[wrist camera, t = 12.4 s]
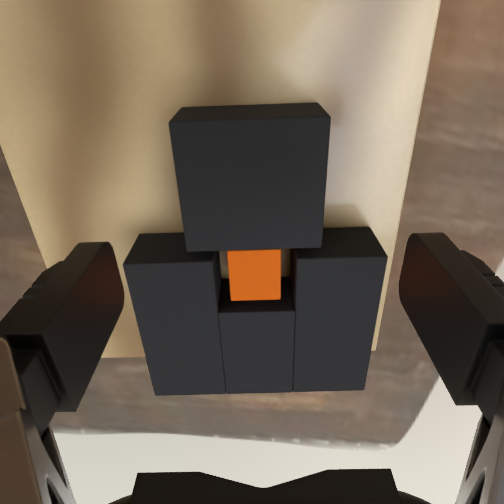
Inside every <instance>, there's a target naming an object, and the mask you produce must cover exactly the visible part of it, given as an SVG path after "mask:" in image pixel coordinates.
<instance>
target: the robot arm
mask: <svg viewBox="0 0 504 504" xmlns="http://www.w3.org/2000/svg"><path fill="white" fill-rule="evenodd" d="M399 296H400V300H401V303H402V305H403V307H404V309H405V311H406V313H407V315H408V317H409V319H410V320H411V322H412V324H413V326H414V328H415V330H416V332H417V334H418V335H419V337H420V339H421V341H422V343H423V345H424V347H425V349H426V350H427V352H428V354H429V356H430V358H431V360H432V362H433V363H434V365H435V367H436V369H437V371H438V373H439V375H440V377H441V378H442V380H443V382H444V384H445V386H446V388H447V390H448V392H449V393H450V395H451V397H452V399H453V401H454V403H455V404H456V405H478V407H479V408H480V410H481V412H482V413H483V414H482V416H481V418H480V420H479V422H478V425H477V429H476V433H475V436H474V440H473V444H472V447H471V451H470V454H469V458H468V462H467V465H466V469H465V473H464V476H463V480H462V484H461V487H460V490H459V494H458V497H457V500H456V503H455V504H504V282H503V281H502V280H501V279H500V278H499V277H498V276H495V273H494V272H493V271H492V270H491V269H490V268H489V267H488V266H487V265H486V264H485V263H484V262H483V261H482V260H480V259H478V258H477V257H475V256H473V255H471V254H470V253H468V252H466V251H464V250H459V249H458V248H457V247H456V246H455V244H454V243H453V242H452V241H451V240H450V239H449V238H448V237H447V236H446V235H445V234H444V233H413V234H411V235H410V237H409V239H408V242H407V246H406V251H405V256H404V261H403V265H402V270H401V275H400V280H399ZM123 306H124V287H123V284H122V280H121V276H120V272H119V268H118V264H117V261H116V257H115V253H114V249H113V247H112V245H111V244H110V243H109V242H80V243H78V244H77V245H76V246H75V247H74V248H73V250H72V251H71V252H70V253H69V255H68V256H67V257H66V258H65V260H64V261H59V262H57V263H56V264H54V265H53V266H51V267H50V268H48V269H47V270H45V271H44V272H42V274H41V275H40V276H39V277H38V278H37V279H36V281H35V282H34V283H33V284H32V288H29V289H28V290H27V291H26V292H25V293H24V295H23V298H22V299H19V300H18V302H17V303H16V304H15V305H14V306H13V307H12V309H11V310H10V311H9V312H8V313H7V314H6V316H5V317H4V318H3V319H2V320H1V321H0V504H76V502H75V499H74V496H73V493H72V490H71V487H70V484H69V481H68V478H67V474H66V471H65V468H64V465H63V462H62V459H61V456H60V453H59V450H58V446H57V443H56V440H55V437H54V434H53V431H52V429H51V427H50V425H49V423H50V421H51V419H52V417H53V415H54V413H55V412H76V410H77V408H78V406H79V404H80V402H81V399H82V397H83V395H84V393H85V391H86V389H87V386H88V384H89V382H90V380H91V378H92V375H93V373H94V371H95V369H96V367H97V365H98V362H99V360H100V358H101V356H102V354H103V352H104V349H105V347H106V345H107V343H108V341H109V338H110V336H111V334H112V332H113V330H114V328H115V325H116V323H117V321H118V319H119V317H120V315H121V312H122V310H123ZM109 504H431V503H429V502H427V501H424V500H423V499H420V498H418V497H415V496H413V495H410V494H407V493H405V492H401V491H397V488H396V485H395V482H394V478H393V475H392V472H391V469H339V470H325V471H322V472H318V473H315V474H312V475H308V476H305V477H302V478H299V479H295V480H292V481H289V482H286V483H282V484H279V485H275V486H272V487H268V488H259V487H254V486H251V485H247V484H243V483H239V482H235V481H232V480H228V479H224V478H220V477H216V476H213V475H209V474H205V473H202V472H162V473H161V472H158V473H137V477H136V481H135V485H134V489H133V493H132V495H129V496H126V497H123V498H121V499H119V500H116V501H114V502H112V503H109Z"/></svg>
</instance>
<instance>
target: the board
mask: <svg viewBox="0 0 504 504" xmlns="http://www.w3.org/2000/svg"><path fill="white" fill-rule="evenodd" d="M440 4H441V0H0V145H1V148H2V151H3V153H4V156H5V159H6V161H7V164H8V167H9V169H10V172H11V175H12V177H13V180H14V183H15V185H16V188H17V191H18V193H19V196H20V199H21V201H22V204H23V207H24V209H25V212H26V214H27V217H28V220H29V222H30V225H31V228H32V230H33V233H34V236H35V238H36V241H37V244H38V246H39V249H40V252H41V254H42V257H43V260H44V262H45V265H46V268H47V269H48V268H50V267H51V266H53V265H54V264H56V263H57V262H59V261H64V260H65V258H66V257H67V256H68V255H69V253H70V252H71V251H72V250H73V248H74V247H75V246H76V245H77V244H78V243H80V242H109V243H110V244H111V245H112V247H113V249H114V253H115V257H116V261H117V264H118V268H119V272H120V276H121V280H122V284H123V287H124V306H123V310H122V312H121V315H120V317H119V319H118V321H117V323H116V325H115V328H114V330H113V332H112V334H111V336H110V338H109V341H108V343H107V345H106V347H105V349H104V352H103V354H102V356H101V358H116V357H145V353H144V349H143V345H142V341H141V337H140V333H139V329H138V325H137V321H136V317H135V313H134V309H133V305H132V301H131V297H130V293H129V289H128V285H127V281H126V277H125V273H124V269H123V263H124V261H125V259H126V257H127V255H128V253H129V252H130V250H131V248H132V246H133V244H134V242H135V240H136V239H137V237H138V235H139V234H146V233H178V232H184V230H183V223H182V216H181V209H180V202H179V195H178V188H177V181H176V174H175V166H174V159H173V152H172V145H171V138H170V131H169V124H168V123H169V121H170V120H171V119H172V118H173V116H174V115H175V114H176V113H177V112H178V111H179V110H180V108H182V107H199V106H227V105H255V104H283V103H311V102H317V103H319V104H320V105H321V106H322V107H323V108H324V110H325V111H326V112H327V113H328V114H329V115H330V116H331V125H330V139H329V153H328V167H327V181H326V194H325V208H324V222H323V228H343V227H371V229H372V231H373V232H374V234H375V236H376V237H377V239H378V241H379V242H380V244H381V246H382V247H383V249H384V251H385V252H386V254H387V256H388V260H387V265H386V271H385V276H384V282H383V287H382V293H381V299H380V304H379V310H378V315H377V321H376V326H375V332H374V337H373V343H372V349H371V351H375V350H376V344H377V339H378V334H379V328H380V323H381V318H382V312H383V307H384V302H385V297H386V291H387V286H388V281H389V275H390V270H391V265H392V259H393V254H394V249H395V243H396V238H397V233H398V227H399V222H400V217H401V211H402V206H403V201H404V195H405V190H406V185H407V179H408V174H409V169H410V163H411V158H412V153H413V148H414V142H415V137H416V132H417V126H418V121H419V116H420V110H421V105H422V100H423V94H424V89H425V84H426V78H427V73H428V68H429V62H430V57H431V52H432V46H433V41H434V36H435V30H436V25H437V20H438V14H439V9H440ZM290 253H291V249H281V277H290ZM219 255H220V266H221V277H222V279H229V270H228V258H227V250H226V251H219Z"/></svg>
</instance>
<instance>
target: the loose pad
mask: <svg viewBox="0 0 504 504" xmlns="http://www.w3.org/2000/svg"><path fill="white" fill-rule="evenodd" d="M168 124H169V131H170V138H171V145H172V152H173V159H174V166H175V174H176V181H177V188H178V195H179V202H180V209H181V216H182V223H183V230H184V237H185V244H186V250H187V251H188V252H193V251H226V250H227V258H228V270H229V283H230V296H231V301H241V300H276V299H280V298H281V249H292V248H320V247H321V246H322V236H323V222H324V208H325V194H326V181H327V167H328V153H329V139H330V125H331V116H330V115H329V114H328V113H327V112H326V111H325V110H324V108H323V107H322V106H321V105H320V104H319V103H317V102H311V103H283V104H255V105H227V106H199V107H182V108H180V110H179V111H178V112H177V113H176V114H175V115H174V116H173V118H172V119H171V120H170V121H169V123H168Z"/></svg>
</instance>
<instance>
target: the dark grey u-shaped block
mask: <svg viewBox="0 0 504 504" xmlns="http://www.w3.org/2000/svg"><path fill="white" fill-rule="evenodd" d="M387 260H388V256H387V254H386V252H385V251H384V249H383V247H382V246H381V244H380V242H379V241H378V239H377V237H376V236H375V234H374V232H373V231H372V229H371V227H343V228H323V236H322V246H321V247H320V248H292V249H291V253H290V277H281V298H280V299H276V300H241V301H231V296H230V283H229V279H222V277H221V266H220V255H219V251H193V252H188V251H187V250H186V244H185V237H184V232H178V233H146V234H139V235H138V237H137V239H136V240H135V242H134V244H133V246H132V248H131V250H130V252H129V253H128V255H127V257H126V259H125V261H124V263H123V269H124V273H125V277H126V281H127V285H128V289H129V293H130V297H131V301H132V305H133V309H134V313H135V317H136V321H137V325H138V329H139V333H140V337H141V341H142V345H143V349H144V353H145V357H146V361H147V365H148V369H149V373H150V377H151V381H152V385H153V389H154V393H155V395H156V396H159V395H199V394H226V393H227V394H239V393H279V392H292V390H293V392H311V391H351V390H364V387H365V382H366V376H367V371H368V365H369V360H370V354H371V349H372V343H373V337H374V332H375V326H376V321H377V315H378V310H379V304H380V299H381V293H382V287H383V282H384V276H385V271H386V265H387Z"/></svg>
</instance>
